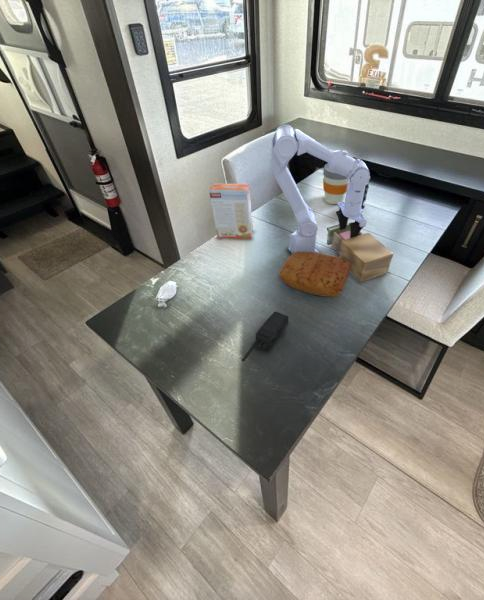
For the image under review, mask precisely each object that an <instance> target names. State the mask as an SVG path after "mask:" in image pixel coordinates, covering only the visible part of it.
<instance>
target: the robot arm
mask: <svg viewBox="0 0 484 600" xmlns="http://www.w3.org/2000/svg"><path fill="white" fill-rule="evenodd" d="M270 150H271V151H270V161H269V168H270V171H271V173H272V175H273V177H274V178H275V181H276V182H277V184H278V186H279V188H280V189H281V191H282V193H283V195H284V196H285V198H286V200H287V202H288V204H289V206H290V208H291V209H292V212H293V213H294V217H295V219H296V222H297V224H298V226H297V228H296V230H295V231H294V232H293V233H290V235H289V243H288V245H289V246H288V250H289V252H290V253H291V255H292V254H293V253H295V252H313V253H320V251H319V250H318V249H317V248H316V246H317V245H316V244H317V233H318V229H319V228H318V224H317V220H316V213H315V211H314V210H313V209H311V208H310V207H309V205H308V204H307V203H306V201H305V199H304V197H303V196H302V193H301V192H300V189H299V187H298V185H297V183H296V181H295V179H294V177H293V176H292V173H291V171H290V169H289V167H288V164H289V162H290V161H291V160H292V158H293V157H294V156H295V155H296V156H301V155H303V154H305V153H307V154H309V155H311V156H313V157H315V158H318V159H319V160H322V161H324V162H325V163H328V165H329V168H330V169H332V170H333V171H335V172H337V173H339V174H341V175H343V176H345V177H347V178H349V181H348V186H347V192H346V194H345V198H344V201H342V202H339V203H338V204H337V208H338V210H337V211H335V214H336V217H337V220H338V224H339V227H340V230H343V229H345V228H346V226H347V223H349V225H350V229H351V233H350V238H352V237H356V236H357V235H358V234H359V232H362V229H363V228H365V227H366V226H367V222H368V221H367V219H365V217H364V214H363V213H362V212H363V209H361V206H362V201H363V196H364V191H365V185H366V183H367V182H368V183H369V181H370V180H371V172H370V170H369V168H368V166H367V164H366V163H365V162H364V161H363V159H361V158H354V157H352V156H351V155H349V154H348V153H349V152H348V151H347V150H345V149H343V150H340V149H337V150H331V149H330V148H328V147H327V146H325V145H323V144H322V143H320V142H319V141H317V140H316V139H314V138H312V137H311V136H309V135H307V134H306V133H305V132H303V131H301V130H300V129H297V128H293V127H292V126H291V125H289V124H282V125H280V126H278V127H277V129H276V130H275V131H274V134H273V137H272V139H271V149H270ZM349 219H350V220H353V222H352V221H351V222H352V223H350V222H348V221H349Z"/></svg>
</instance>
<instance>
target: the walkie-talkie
mask: <svg viewBox="0 0 484 600" xmlns="http://www.w3.org/2000/svg"><path fill="white" fill-rule="evenodd" d="M288 323H289V316H288V315H286V314H283V313H281V312H278V311H274V312H273V313H272V314H271V315H270V316H269V317H268V318H267V319H266V320H265V322H264V323H263V324H262V325H261V327H260V328H259V329H257V332H256V333H255V340H254V341H253V343H252V345H251V346H250V348H249V349H248V351H247V352H246V353H245V354H244V356H243V357H242V358H241V362H242V363H243V362H245V361H246V360H247V358H248V357H249V356H250V355H251V354H252V353H253V351H254V350H255V349H256V348H257V349H260V350H262V351H265V352H268V351H269V350H270V349H271V348H272V347H273V345H274V344H275V343H276V341H277V340H278V338H279V337H280V335H281V334H282V332H283V331H284V329H285V328H286V326H287V325H288Z"/></svg>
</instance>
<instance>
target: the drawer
mask: <svg viewBox="0 0 484 600" xmlns="http://www.w3.org/2000/svg"><path fill="white" fill-rule="evenodd" d="M349 223H352V221H351V222H347V226H346V228H345V229H343V230H340V227H339V223H338V224H335V225H332V226H328V227H327V228H326V231H327V238H326V245H327V246H331V248H333V249H334V251H336V252H337V254H339V253H340V246H341V241H343V239H342V238H341V237H340V236H339V234H340V233H343V232H346V231H350V232H351V229H350V225H349ZM362 234H363V233H362V231H360V232H359V234H358V235H357V236H359V235H362Z"/></svg>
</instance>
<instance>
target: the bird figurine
mask: <svg viewBox="0 0 484 600" xmlns="http://www.w3.org/2000/svg"><path fill="white" fill-rule="evenodd" d="M179 287H180V285H177V282H176V281H174V280H168V281H166V282H165V283H164V284H162V285H161V286H160V288H159V290H158V292H157V294H156V296H155V302H158V304H157V307H158V308H162V307H164V308H167V303H166V302H168V301H169V300H171V299H173V298H174V297H175V295H176V294H177V289H178V288H179Z"/></svg>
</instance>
